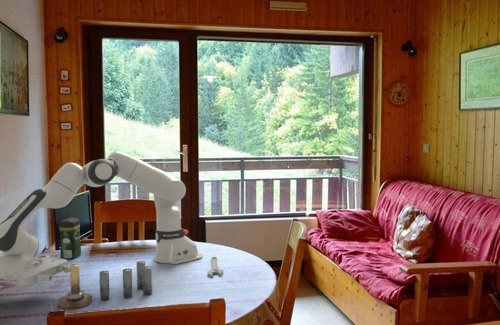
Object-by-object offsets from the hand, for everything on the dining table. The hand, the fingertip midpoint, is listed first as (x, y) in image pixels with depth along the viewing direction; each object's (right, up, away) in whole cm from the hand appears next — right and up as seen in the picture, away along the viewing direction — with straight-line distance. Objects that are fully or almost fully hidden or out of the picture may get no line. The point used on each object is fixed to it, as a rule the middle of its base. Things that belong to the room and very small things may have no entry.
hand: (60, 274), depth 154 cm
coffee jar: (-18, -6, +54) cm, 57 cm away
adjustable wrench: (+52, -7, +37) cm, 65 cm away
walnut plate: (+6, -10, -1) cm, 12 cm away
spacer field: (+23, -9, +7) cm, 26 cm away
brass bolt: (+6, -8, -1) cm, 10 cm away
